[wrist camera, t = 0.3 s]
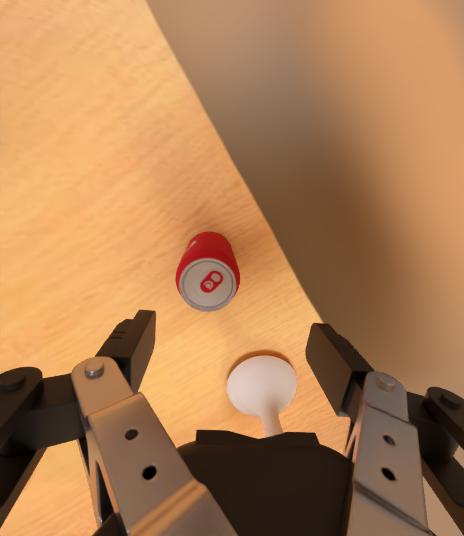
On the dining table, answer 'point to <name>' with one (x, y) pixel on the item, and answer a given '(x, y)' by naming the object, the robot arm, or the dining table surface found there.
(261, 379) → the flower in vase
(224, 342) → the dining table surface
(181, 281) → the beverage can
